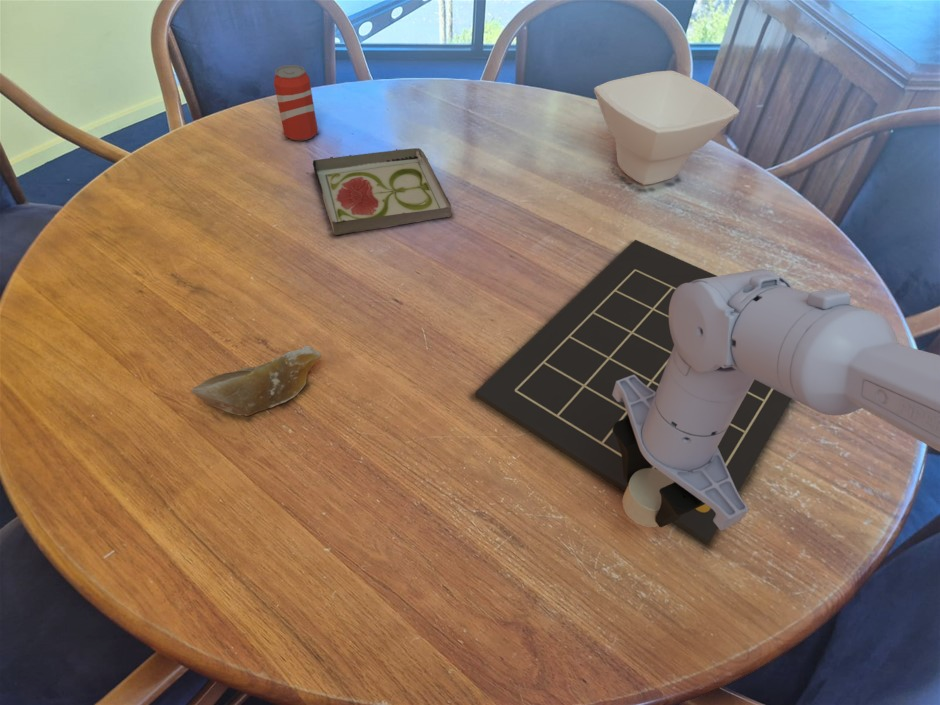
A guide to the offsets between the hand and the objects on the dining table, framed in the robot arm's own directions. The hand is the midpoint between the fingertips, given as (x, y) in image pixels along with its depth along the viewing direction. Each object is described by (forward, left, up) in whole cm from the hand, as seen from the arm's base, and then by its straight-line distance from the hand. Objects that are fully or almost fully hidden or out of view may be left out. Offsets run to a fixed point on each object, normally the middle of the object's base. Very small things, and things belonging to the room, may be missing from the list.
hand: (650, 498), depth 57 cm
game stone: (0, 0, -1) cm, 1 cm away
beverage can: (+94, +9, -9) cm, 95 cm away
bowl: (+57, -44, -9) cm, 73 cm away
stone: (+34, +29, -9) cm, 46 cm away
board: (+19, -18, -8) cm, 27 cm away
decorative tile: (+69, +2, -9) cm, 70 cm away
